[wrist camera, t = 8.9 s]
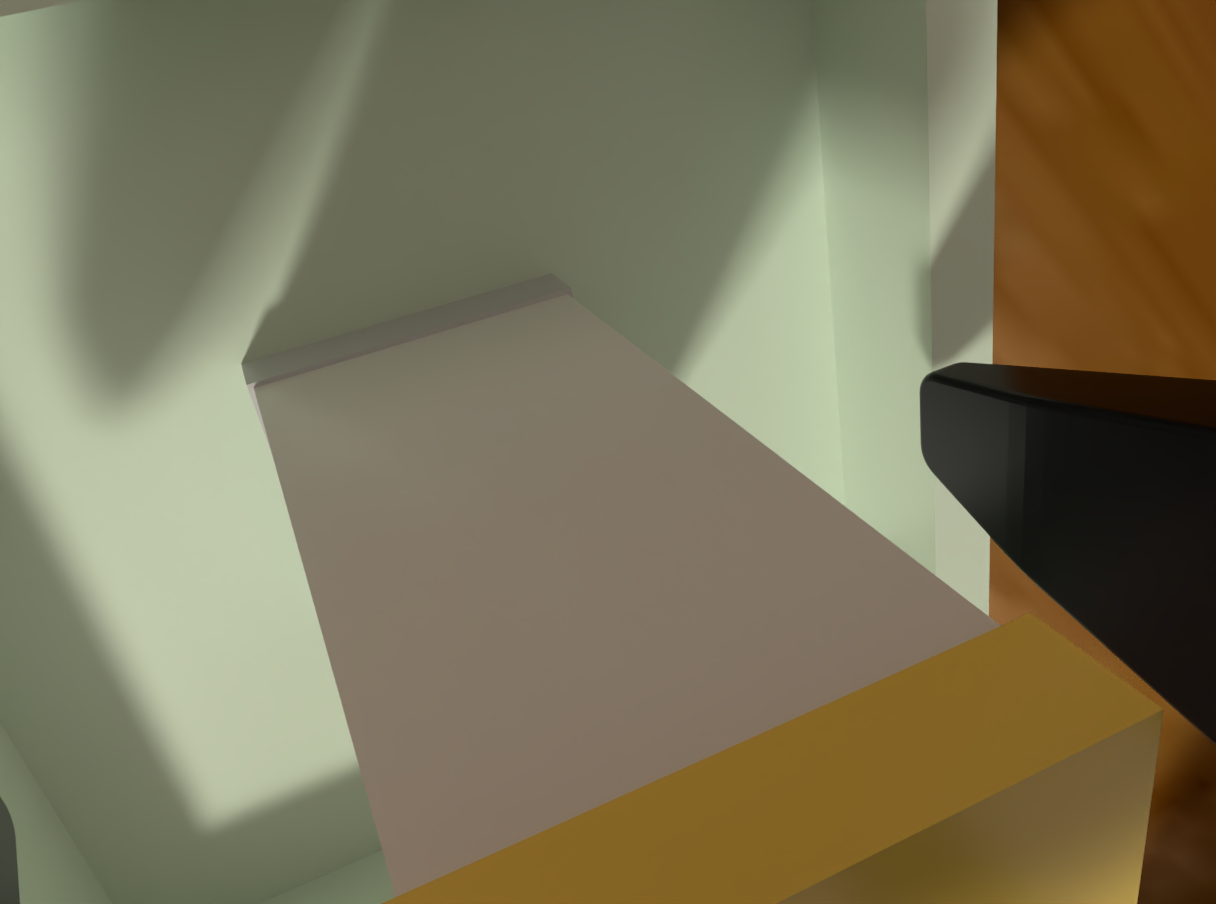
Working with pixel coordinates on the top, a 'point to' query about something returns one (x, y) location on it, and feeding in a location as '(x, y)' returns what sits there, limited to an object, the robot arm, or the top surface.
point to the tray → (403, 285)
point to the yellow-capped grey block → (665, 644)
